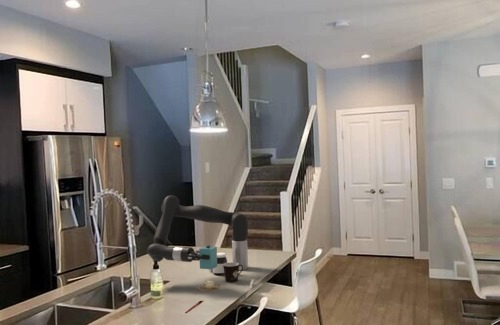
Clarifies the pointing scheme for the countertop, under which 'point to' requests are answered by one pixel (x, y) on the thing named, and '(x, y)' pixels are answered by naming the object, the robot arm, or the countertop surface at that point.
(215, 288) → the walnut board
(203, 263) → the teal rectangular block
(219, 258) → the spread jar
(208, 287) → the cream cheese
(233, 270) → the coffee mug
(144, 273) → the countertop surface
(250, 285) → the countertop surface
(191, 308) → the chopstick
